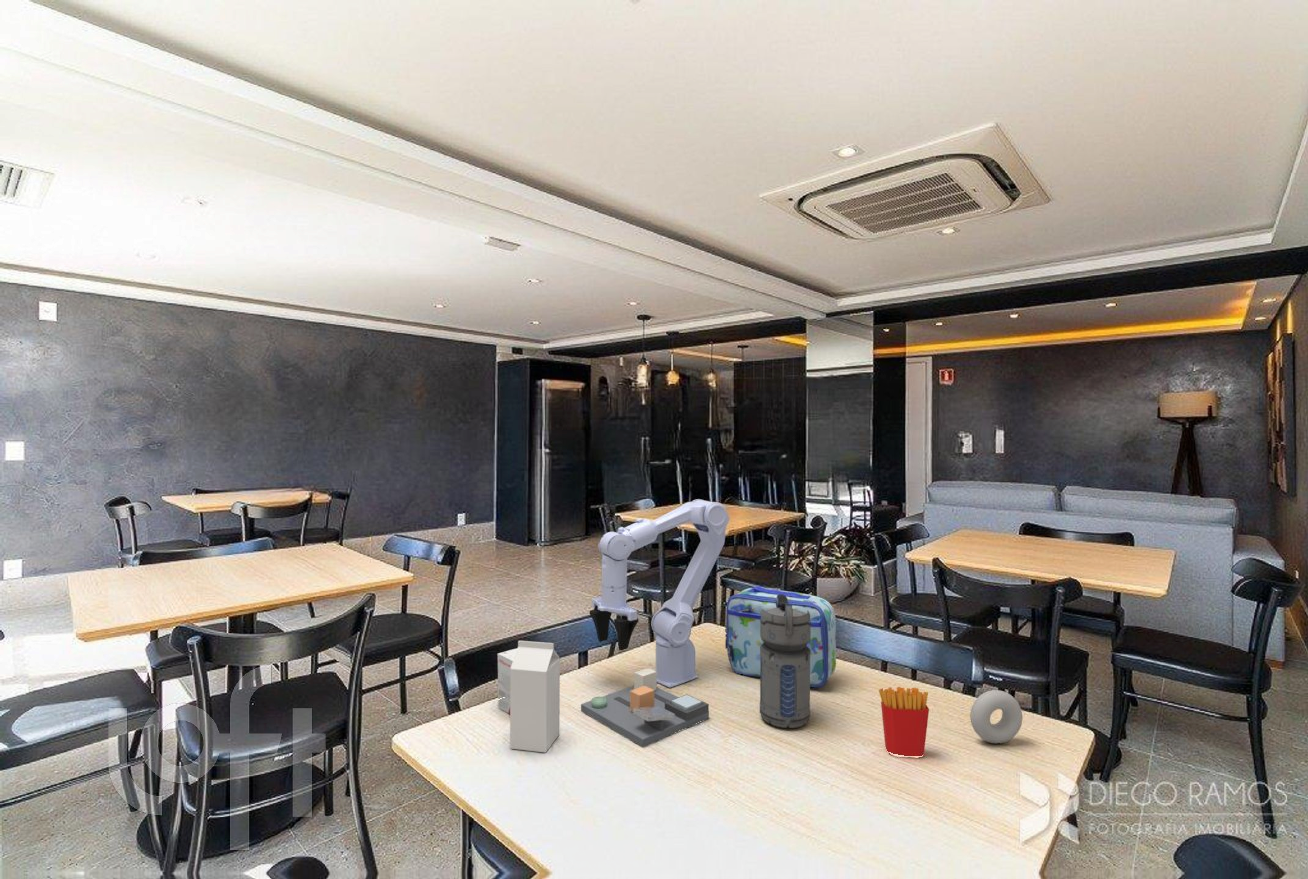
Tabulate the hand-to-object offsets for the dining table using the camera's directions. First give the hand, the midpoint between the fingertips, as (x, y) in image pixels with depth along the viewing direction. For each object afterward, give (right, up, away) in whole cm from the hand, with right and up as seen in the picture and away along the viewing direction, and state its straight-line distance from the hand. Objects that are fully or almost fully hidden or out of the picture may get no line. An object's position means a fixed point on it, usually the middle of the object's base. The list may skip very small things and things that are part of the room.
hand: (612, 644), depth 139 cm
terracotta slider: (+7, -9, -14) cm, 18 cm away
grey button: (+16, -9, -14) cm, 23 cm away
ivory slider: (+7, -9, -4) cm, 12 cm away
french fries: (+55, -11, -27) cm, 63 cm away
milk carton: (-13, -11, -24) cm, 29 cm away
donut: (+75, -11, -23) cm, 79 cm away
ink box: (-19, -11, -11) cm, 25 cm away
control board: (+7, -11, -12) cm, 18 cm away
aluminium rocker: (+9, -7, -20) cm, 23 cm away
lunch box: (+40, -11, +9) cm, 42 cm away
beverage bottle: (+36, -11, -13) cm, 40 cm away
